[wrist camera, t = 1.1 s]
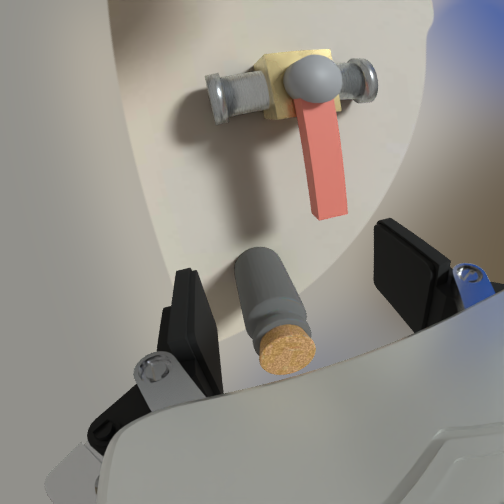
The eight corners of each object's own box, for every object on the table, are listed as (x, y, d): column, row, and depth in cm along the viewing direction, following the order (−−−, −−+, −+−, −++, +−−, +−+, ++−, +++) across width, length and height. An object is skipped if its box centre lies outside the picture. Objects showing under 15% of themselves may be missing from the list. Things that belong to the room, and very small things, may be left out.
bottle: (225, 279, 36) (240, 372, 23) (247, 238, 34) (276, 321, 21) (267, 294, 38) (298, 384, 25) (290, 256, 36) (336, 339, 23)
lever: (279, 62, 21) (288, 56, 18) (323, 59, 21) (337, 53, 18) (305, 214, 27) (316, 226, 24) (344, 205, 27) (358, 216, 25)
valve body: (204, 75, 26) (203, 65, 20) (349, 57, 26) (377, 49, 21) (216, 128, 28) (218, 131, 23) (358, 106, 29) (387, 107, 24)
